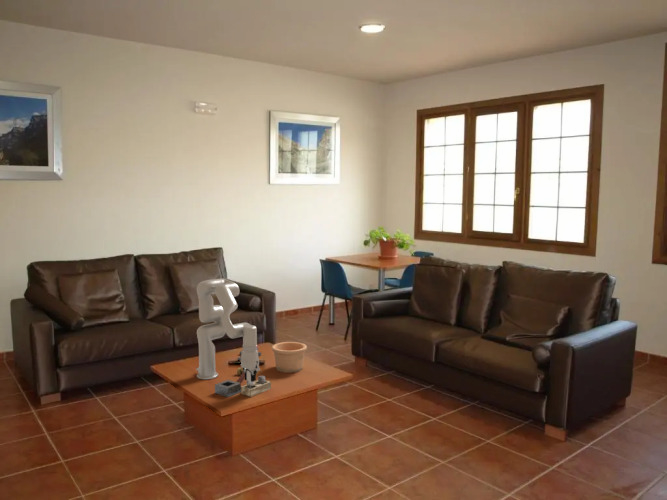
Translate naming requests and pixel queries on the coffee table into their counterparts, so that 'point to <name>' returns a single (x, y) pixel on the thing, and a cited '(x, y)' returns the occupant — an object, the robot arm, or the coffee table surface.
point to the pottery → (289, 356)
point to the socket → (227, 388)
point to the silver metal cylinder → (249, 380)
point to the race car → (241, 352)
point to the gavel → (240, 372)
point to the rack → (256, 387)
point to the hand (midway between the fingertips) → (250, 379)
